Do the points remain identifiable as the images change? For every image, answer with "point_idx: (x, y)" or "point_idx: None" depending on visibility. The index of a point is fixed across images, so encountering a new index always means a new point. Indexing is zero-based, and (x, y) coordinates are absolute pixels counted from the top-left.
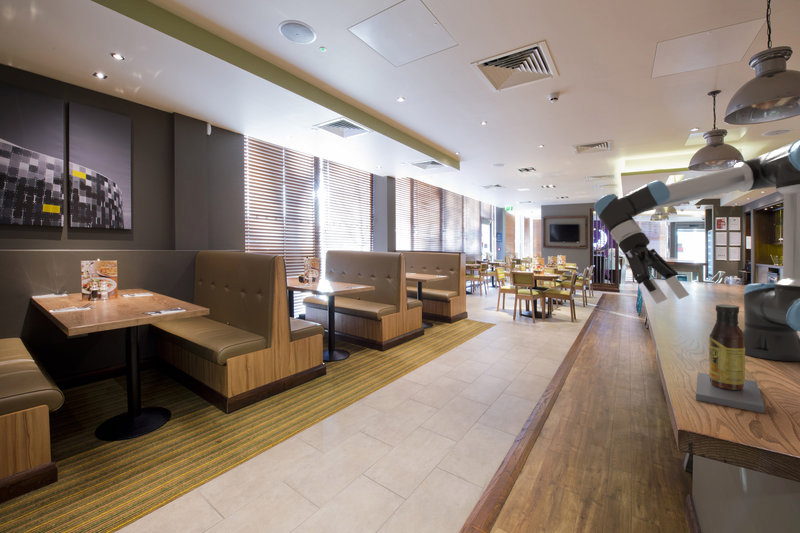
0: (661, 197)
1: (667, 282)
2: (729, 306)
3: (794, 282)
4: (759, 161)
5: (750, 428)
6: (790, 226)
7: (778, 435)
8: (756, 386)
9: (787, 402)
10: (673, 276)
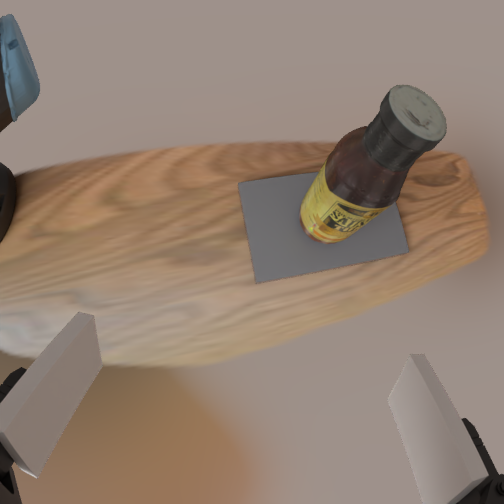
0: None
1: (44, 458)
2: (431, 106)
3: None
4: None
5: (443, 184)
6: None
7: (436, 161)
8: (277, 179)
9: (294, 147)
10: (8, 435)
